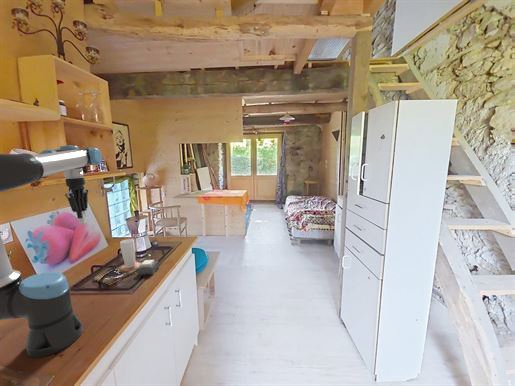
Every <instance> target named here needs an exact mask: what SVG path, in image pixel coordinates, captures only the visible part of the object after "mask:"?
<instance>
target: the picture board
mask: <svg viewBox="0 0 515 386" xmlns="http://www.w3.org/2000/svg"><path fill="white" fill-rule="evenodd" d="M135 261H136V265H135V266H134V267H132V268H126V267H125V263H124V264H122V265H120V266H118V267H116V269H115V268H114V269H115V270H118V271H117V272H116V271H114V272H116V273H118V274H120V273H119V272H124V271H125V272H126V274H124V275H123V276H122V277H125V276H128V275H130V274H132V275H134V274H135V272H136V273H138V272H137V268H138V267H139V266H140V265H141V264H142V263H143V262H142V261H141V262H140V261H137V260H135ZM112 270H113V269H111V270H109V271H107V272H104V273H102V274H100V275H97V276H96V277H93V279H96V280H98V281H99V280H100V279H101V278H102V277H103V276H104V275H105V274H107V273H109V272H110V271H112ZM133 273H134V274H133ZM130 276H131V275H130ZM122 277H119V278H116V279H112V278H105V279H104V280H103V282H104V283H106V284H111V283H113V282H115V281H117V280H119V279H121V278H122ZM128 277H129V276H128ZM96 280H95V281H96ZM98 281H97V282H98ZM106 284H105V285H106ZM111 285H112V284H111Z"/></svg>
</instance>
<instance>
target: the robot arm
mask: <svg viewBox="0 0 515 386" xmlns="http://www.w3.org/2000/svg"><path fill="white" fill-rule="evenodd" d="M102 162H103V154H102V152H101V151H100V149H99V148H98V147H97V148H96V147H86V148H83V147H81V148H80V147H78V146H77V145H60V146H59V148H58V149H52V148H51V149H44V150H41V151H40V152H39V154H31V153H26V152H25V153H23V152H22V153H0V193H2V192H6V191H10V190H13V189H17V188H20V187H23V186H24V187H25V186H27V185H30V184H34V183H37V182H39V181H41V180H42V179H43V178H44V177H48V176H52V175H55V174H59V173H63V175H64V176H63V177H64V178H65V181H64V182H65V186H66V187H68V193H65V194H64V196H65V197H66V199H67V201H68V204H69V206H70V208H71V209H70V210H71V211H72V212H74V213H76V217H77V220H78V225H86V224H87V219H86V218H87V217H86V211H87V210H88V199H89V198H88V193H89V190H88V189H86V188H85V184H86V182H85V177H84V171H83V170H84V169H83V167H88V166H95V165H96V166H97V165H101V163H102ZM67 280H68V279H67V277H66V275H65V274H63V273H61V272H57V271H47V272H46V271H45V272H42V273H37V274H33V275H30V276H28V277H26V278H24V279H23V276H22V273H21V271H19V270H16V269H13V267H12V264H11V261H10V258H9V256H8V253H7V250H6V247H5V244H4V242H3V239H2V236H1V234H0V321H3V320H5V321H6V320H13V319H22V318H23V319H24V318H26V320H27V325H28V334H27V339H26V342H25V350H26V354H27V355H28V356H29V357H31V358H41V357H46V356H50V355H53V354H55V353H58V352H60V351H62V350H64V349H66V348H67V347H68V346H70V345H72V344H73V343H74V342H76V341H77V340H78V339H79V338H80V336H81V335H82V333H83V331H84V328H83V323H82V321H81V320H80V319H79V317H78V316H77V315H76V313H75V312H74V309H73V304H72V300H71V299H72V298H71V294H70V293H71V292H70V285H69V282H68V281H67Z"/></svg>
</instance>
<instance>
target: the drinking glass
mask: <svg viewBox="0 0 515 386" xmlns="http://www.w3.org/2000/svg"><path fill="white" fill-rule="evenodd" d="M119 245H120V251H121V254H122V259H123V261H124V262H123V263H124V264H125V267H126V268H132V267H134V266H135V265H136V261H137V260H136V248H135V247H136V245H135V240H134V239H133V238H126V239H123V240H121V241H120V242H119Z"/></svg>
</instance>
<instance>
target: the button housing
mask: <svg viewBox="0 0 515 386" xmlns="http://www.w3.org/2000/svg"><path fill="white" fill-rule="evenodd" d="M154 262H155V263H154V264H153V265H152V266H151V267H141V265H140V266H139V267H138V268H137V272H136V273H137V276H139V277H141V275H142V276H145V275H144V274H147V275H146V276H154V275H155V274H156V272H157V271H158V270H159V269H160V264H159V260H154Z"/></svg>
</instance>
